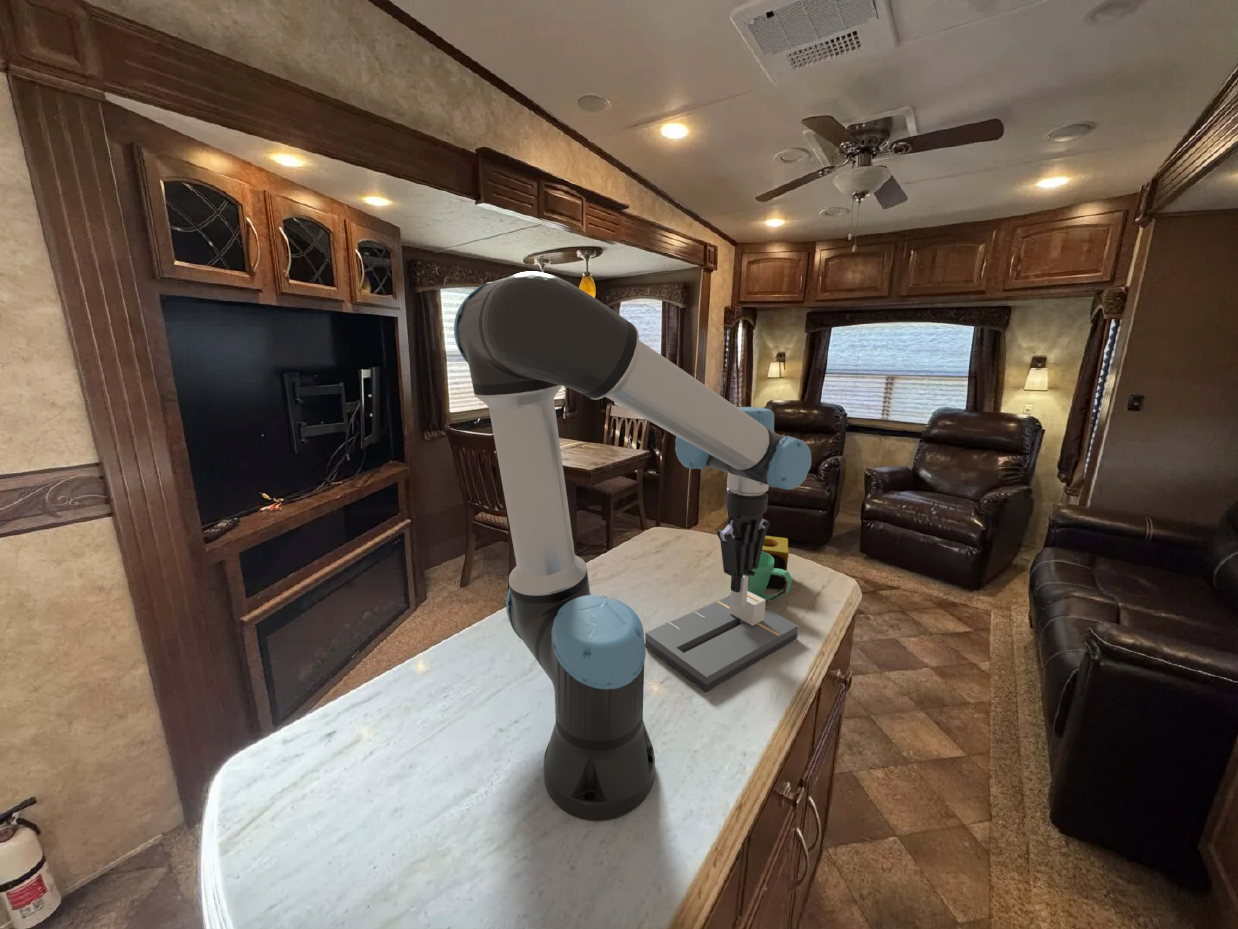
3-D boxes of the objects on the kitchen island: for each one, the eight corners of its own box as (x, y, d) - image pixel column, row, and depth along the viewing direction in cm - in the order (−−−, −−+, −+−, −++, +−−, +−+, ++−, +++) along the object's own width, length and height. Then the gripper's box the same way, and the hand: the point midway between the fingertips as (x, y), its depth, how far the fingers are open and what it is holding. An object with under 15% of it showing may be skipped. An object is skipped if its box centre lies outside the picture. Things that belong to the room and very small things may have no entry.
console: (705, 692, 81) (706, 676, 81) (645, 646, 94) (645, 632, 93) (796, 639, 97) (798, 625, 96) (734, 605, 109) (735, 592, 108)
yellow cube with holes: (741, 586, 118) (744, 547, 116) (743, 568, 128) (746, 532, 125) (785, 592, 115) (789, 553, 113) (784, 573, 125) (788, 537, 122)
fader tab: (752, 632, 96) (754, 604, 94) (728, 619, 100) (730, 592, 99) (763, 626, 98) (765, 599, 96) (739, 613, 102) (741, 587, 101)
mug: (719, 597, 113) (721, 557, 110) (742, 583, 119) (744, 545, 117) (777, 622, 102) (781, 578, 100) (798, 605, 109) (803, 564, 107)
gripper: (740, 501, 84) (731, 623, 89) (785, 489, 91) (774, 602, 97) (708, 491, 90) (701, 606, 95) (753, 480, 97) (744, 588, 103)
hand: (738, 604), depth 96 cm, fingers closed
